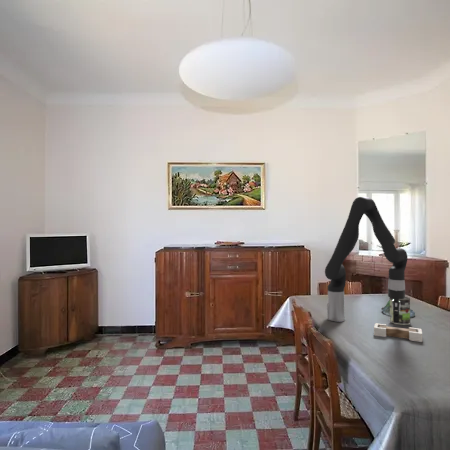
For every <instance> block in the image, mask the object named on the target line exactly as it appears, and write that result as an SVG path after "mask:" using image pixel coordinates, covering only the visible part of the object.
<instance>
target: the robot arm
mask: <svg viewBox="0 0 450 450" xmlns="http://www.w3.org/2000/svg"><path fill="white" fill-rule="evenodd" d="M364 215H365V216H366V217H367V218H368V220H369V221H370V223H371V227H372V229H373V233H374V236H375V238H376V239H377V241H378V243H379V244H380V245H381V249H382V251H383V255H384V257H385V259H386V260H387V261H388V262H389V263H391V264H392V266H391V267H390V268H389V269H388V283H387V286H388V287H387V297H388V298H389V299H390V298H393V299H394V300H392V310H393V315H394V323H399V312H400V306H401V301H399V299H404V298H405V297H406V283H405V282H406V281H405V271H406V268H407V262H408V253H407V251H406V249H403V248H401V247H400V248H399V247H398V248H396V247H395V244H396V239H395V237H394V236H393V234H392V233H391V231H390V230H389V228H388V226H387V225H386V224H385V221H384V220H383V218H382V215H381V214H380V212H379V210H378V207H377V205H376V202H375V201H374V199H373V198H371V197H365V196H358V197H356V198H355V199H354V200H353V201H352V204H351V207H350V210H349V213H348V215H347V219H346V221H345V225H344V227H343V230H342V232H341V234H340V236H339V239H338V241H337V243H336V245H335V248H334V250H333V254H332V256H331V258H330V259H329V261H328V263H327V265H326V267H325V270H324V275H325V277H326V278H327V279H328V280H330V283H329V284H328V285H327V305H326V307H327V308H326V310H327V314H326V315H327V316H326V317H327V321H331V322H336V323H337V322H338V323H339V322H340V323H341V322H344V321H345V320H346V319H345V318H346V316H345V314H346V312H345V311H346V309H345V308H346V307H345V287H346V282H347V281H346V277H347V274H346V268H345V266H344V265H343V263H344V261H345V260H346V259H347V257H348V256H349V255H350V254H351V252H352V251H353V250H354V249H355V246H356V244H357V242H358V240H359V237H360V232H359V231H360V229H359V228H360V227H359V226H360V223H361V220H362V218H363V216H364ZM394 323H393V324H394Z"/></svg>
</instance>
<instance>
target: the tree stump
mask: <svg viewBox="0 0 450 450" xmlns="http://www.w3.org/2000/svg"><path fill="white" fill-rule="evenodd" d="M381 311H382V312H383V314H384V315H386V316H387V317H390V298H389V300H388V301H387V302H386V304H385V305H384V306H382V307H381ZM415 316H416V312H415V310H413V309H411V308H410V319H412V318H414V317H415Z"/></svg>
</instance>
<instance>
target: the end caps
mask: <svg viewBox="0 0 450 450" xmlns="http://www.w3.org/2000/svg"><path fill="white" fill-rule="evenodd" d="M380 326H387V324H386V323H377V322H376V323H374V326H373V336H376V337H384V338H387V336H386V328H380ZM408 329H413V330H416V332H412V331H409V339H408V340H409V341H413V342H419V343H423V330H422V328H418V327H417V328H416V327H409V326H408Z"/></svg>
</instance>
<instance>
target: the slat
mask: <svg viewBox="0 0 450 450" xmlns="http://www.w3.org/2000/svg"><path fill="white" fill-rule="evenodd" d="M380 328H386V337H395V338H400V339H408V340H409V331H412V332H416V330H413V329H409V328H403V327H394V326H380Z"/></svg>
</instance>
